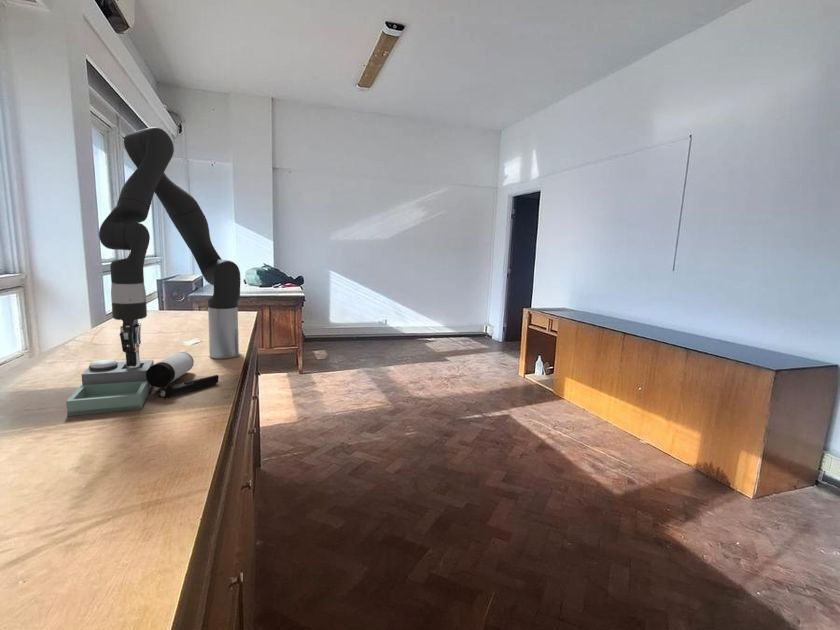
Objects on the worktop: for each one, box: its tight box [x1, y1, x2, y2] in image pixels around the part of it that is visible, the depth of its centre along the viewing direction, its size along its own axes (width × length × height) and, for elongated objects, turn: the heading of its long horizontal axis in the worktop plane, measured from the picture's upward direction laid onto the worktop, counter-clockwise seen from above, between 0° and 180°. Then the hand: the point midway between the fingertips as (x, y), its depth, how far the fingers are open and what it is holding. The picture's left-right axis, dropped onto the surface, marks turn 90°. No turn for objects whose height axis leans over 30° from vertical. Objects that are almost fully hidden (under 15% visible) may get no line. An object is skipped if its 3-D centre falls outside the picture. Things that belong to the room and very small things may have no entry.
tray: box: [65, 381, 149, 417], centre depth 104 cm, size 14×11×4 cm
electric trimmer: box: [158, 374, 219, 400], centre depth 116 cm, size 4×16×3 cm, turn 147°
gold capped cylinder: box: [126, 345, 141, 369], centre depth 115 cm, size 3×3×11 cm
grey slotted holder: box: [80, 359, 155, 393], centre depth 114 cm, size 14×10×7 cm
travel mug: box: [146, 351, 195, 388], centre depth 120 cm, size 6×7×20 cm
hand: (133, 363), depth 115 cm, fingers closed on gold capped cylinder, 3 cm apart
